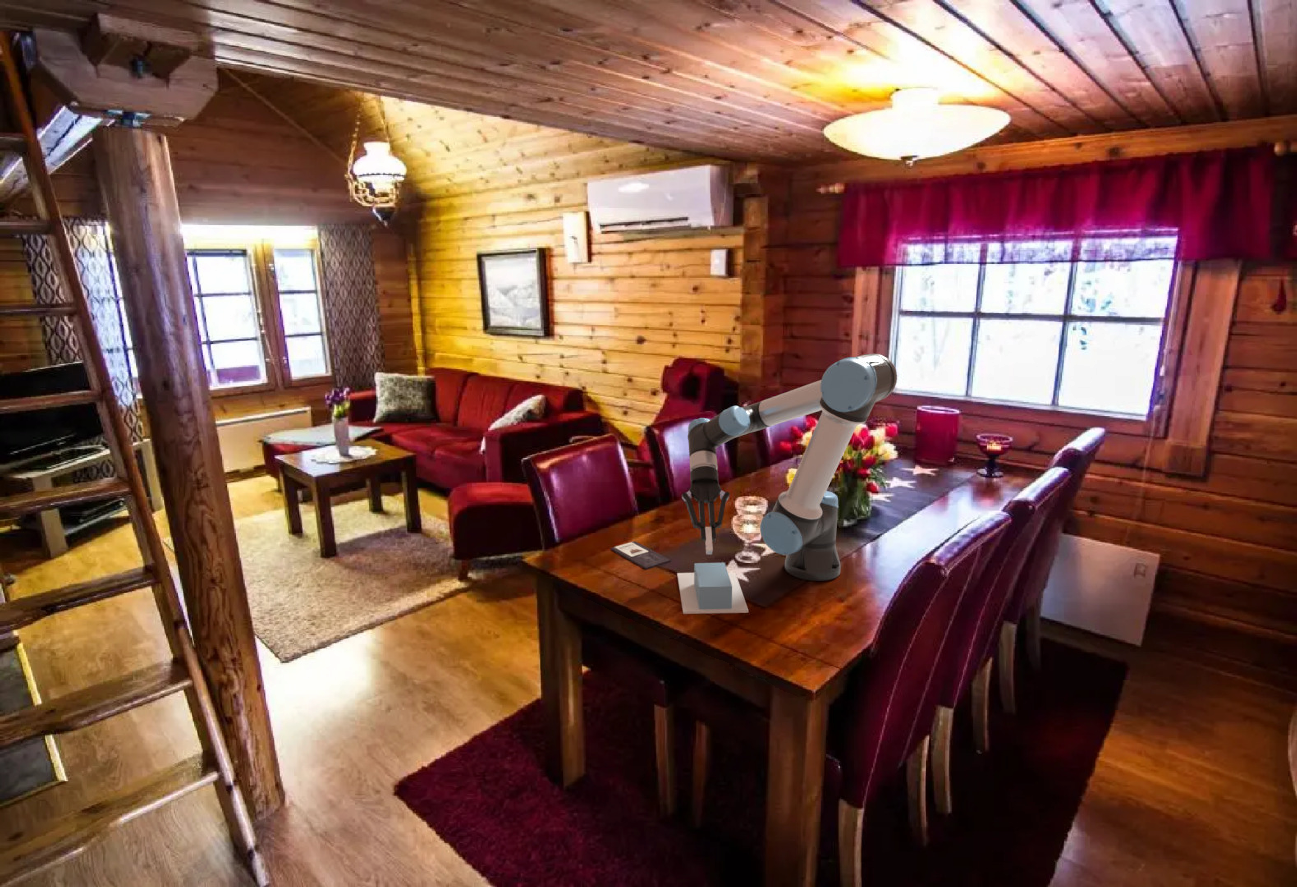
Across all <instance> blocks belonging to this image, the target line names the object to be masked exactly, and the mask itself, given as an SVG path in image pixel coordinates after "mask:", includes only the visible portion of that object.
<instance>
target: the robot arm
mask: <svg viewBox="0 0 1297 887" xmlns="http://www.w3.org/2000/svg"><path fill="white" fill-rule="evenodd" d="M897 381H898V374H897V369H896V366H895V365H894V363H893V362H892V361H891V360H890V359H889V358H888V357H886V356H884V355H882V354H878V353H866V354H862V355H858V356H850V357H849V356H848V357H845V358H842V359H839V360H838V361H836V362H834V363H833V364H831V365H830V366H828V368H827V369H826V370H825V371H824V373H823V375H822V377H821V379H820V380H817V381H814V382H811V383H808V384H806V385H803V386H801V387H797V388H795V389H791V390H789V391H787V392H784V393H780V394H778V395H776V396H771V397H769V398H766V399H764V400H761V401H758V402H755V403H752V404H748V405H746V406H743V407H742V406H741V407H740V406H738V405H733V406H730V407H728V408H727V409H724V410H722V412H720V413H719V414H717V415H715V416H714V417H713V418H711V419H710V418H705V417H700V418H698V419H693V420H691V421H690V422H689V424H688V427H687V441H688V454H689V455H688V456H689V471H690V473H689V476H690V487H689V489H688V491H687V492H685V491H684V492H682V494H681V500H682V501H683V502H684V504H685V505H686V508H687V511H688V514H689V517H690V521H691V524H692V527H693V529H698V530H699V531H700V541H701V542H705V544H704V545H705V554H706V555H713V551H714V550H713V549H714V547H713V542H716V539H717V534H716V530H717V529H721V528H722V524H723V520H724V513H725V508H726V504H727V502H728V500H729V498H730V492H729V491H726V492H725V491H724V490H722V488H721V486H720V483H719V472H718V471H719V470H718V459H717V457H718V456H717V448H719V447H720V446H722V445H723V444H725V443H727V442H729V441H731V440H734V439H735V438H738V437H741V436H744V435H747V434H750V433H754V432H757V431H761V430H764V429H767V428H769V427H772V426H776V425H778V424H781V423H784V422H785V423H786V422H787V421H791V420H795V419H798V418H801V417H804V416H807V415H810V414H814V413H816V412H820V411H822V412H821V414H820V416H819V419H818V421H817V423H816V426H815V428H814V429H813V432H812V435H811V437H810V440H809V442H808V444H807V446H806V448H805V450H804V453H803V455H802V457H801V459H800V461H799V465H798V466H797V469H796V472H795V474H794V476H793V478H792V479H791V480H792V481H791V483H790V485H789V488H788V490H786V491H783V492H781V493H780V494H779V495H778V498H777V500H776V502H775V505H774V506H773V508H772V511H769V512H767V513H766V514H765V515H764V516H763V517H762V519H761V521H760V523H759V532H760V535H761V536H762V539H763V542H764V543H765V545H766V546H767V547H768V548H769V549H770V550H771V551H772V552H775V553H776V554H778V555H782V556H786V557H785V560H784V569H785V571H786V572H787V574H789V575H791V576H792V577H795V578H798V579H801V580H805V581H811V582H812V581H813V582H822V581H823V582H824V581H825V582H826V581H830V580H833V579H836V578H837V577H839V575H840V574H841V561H840V557H839V553H838V550H837V546H836V540H837V526H838V511H839V499H838V495H836V494H835V493H834V492H832V491H828V488H829V485H830V483H831V482H832V480H833V478H834V476H835V473H836V471H837V468H838V466H839V465H840V462H841V460H842V457H843V456H844V454H845V451H846V449H847V447H848V446H849V443H850V440H851V439H852V436H853V434H854V432H855V430H856V428H857V426H858V425H861V424H865V423H866V422H867V420H868V419H869V416H870V413H871V412H872V410H873V408H874V405H875V404H876V403H878V402H880V401H882V400H885V399H886V398H888V396H890V394H892V392H893V391H894V390H895V388H896V386H897V383H898V382H897ZM718 497H719V499H720V505H719V511H718V515H717V516H718V518H717V521H716V516H715V504H714V502H715V501H716V500H717V498H718ZM692 498H694V500H695V501H696V502H697V503H698V513H699V514H698V515H699V516H698V517H697V514H696V511H695V508H694V506H693V502H692ZM705 504H707V507H708V521H709V526H706V515H705V514H706V513H705V511H706V510H705ZM698 518H699V521H698Z"/></svg>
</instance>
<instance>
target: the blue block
mask: <svg viewBox="0 0 1297 887" xmlns="http://www.w3.org/2000/svg"><path fill="white" fill-rule="evenodd" d="M693 565H694V566H693V567H694V568H693V570H694V571H693V573H694V586H695V591H696V596H697V601H698V606H699V609H732V584H731V581H730V578H729V575H728V570H727V567H726V562H698V563H696V562H695V563H694V564H693Z"/></svg>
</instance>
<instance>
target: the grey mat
mask: <svg viewBox="0 0 1297 887" xmlns="http://www.w3.org/2000/svg"><path fill="white" fill-rule="evenodd" d="M727 572H728V571H727ZM676 575H677V582H678V589H679V594H680V602H681V608H682V613H683V614H684V615H689V614H690V615H691V614H693V615H694V614H696V615H697V614H698V615H699V614H739V613H740V614H741V613H744V614H745V613H749V608H748V605H747V603H746V600H745V597H744V594H743V590H742V588H741V585H740V582H739V579H738V576H737V574H736V571H731V572H730V571H729V572H728V575H729V578H730V581H731V584H732V609H699V606H698V601H697V596H696V591H695V586H694V572H677V573H676Z"/></svg>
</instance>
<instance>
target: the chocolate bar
mask: <svg viewBox="0 0 1297 887" xmlns="http://www.w3.org/2000/svg"><path fill="white" fill-rule="evenodd" d="M610 550H611V551H612V552H614V553H616V554H617V555H619V556H621V557H623V558H625V559H626V560H628V561H630V562H631V563H633V564H635V565H637V566H639V567H640V568H642V569H643V570H650V569H652V568H655V567H659V566H662V565H666V564H668V563H671V562H672V560H671V559H670V558H668V557H666V556H664V555H662V554H660V553H658V552H657V551H655V550H652V549H650V548H648V546H645V545H644V544H641V543H639V542H637V541H635V540H634V541H631V542H628V543H623V544H620V545H616V546H614V547H610Z"/></svg>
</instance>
